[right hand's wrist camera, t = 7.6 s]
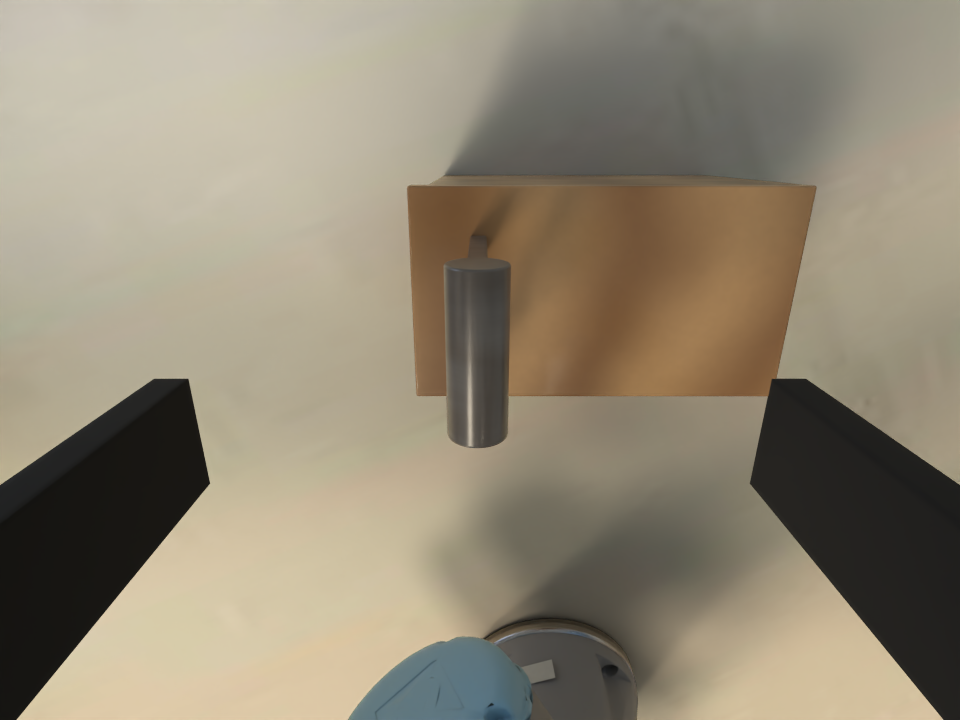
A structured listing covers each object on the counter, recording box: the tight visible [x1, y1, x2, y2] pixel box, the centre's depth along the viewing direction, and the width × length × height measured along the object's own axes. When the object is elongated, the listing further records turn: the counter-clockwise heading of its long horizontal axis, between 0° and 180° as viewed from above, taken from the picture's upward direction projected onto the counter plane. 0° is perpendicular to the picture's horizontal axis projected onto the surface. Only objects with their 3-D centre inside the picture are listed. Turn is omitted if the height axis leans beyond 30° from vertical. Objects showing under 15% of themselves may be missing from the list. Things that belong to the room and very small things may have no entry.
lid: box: [407, 185, 816, 448], centre depth 21 cm, size 17×10×9 cm, turn 90°
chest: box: [429, 175, 801, 185], centre depth 30 cm, size 16×10×11 cm, turn 90°
